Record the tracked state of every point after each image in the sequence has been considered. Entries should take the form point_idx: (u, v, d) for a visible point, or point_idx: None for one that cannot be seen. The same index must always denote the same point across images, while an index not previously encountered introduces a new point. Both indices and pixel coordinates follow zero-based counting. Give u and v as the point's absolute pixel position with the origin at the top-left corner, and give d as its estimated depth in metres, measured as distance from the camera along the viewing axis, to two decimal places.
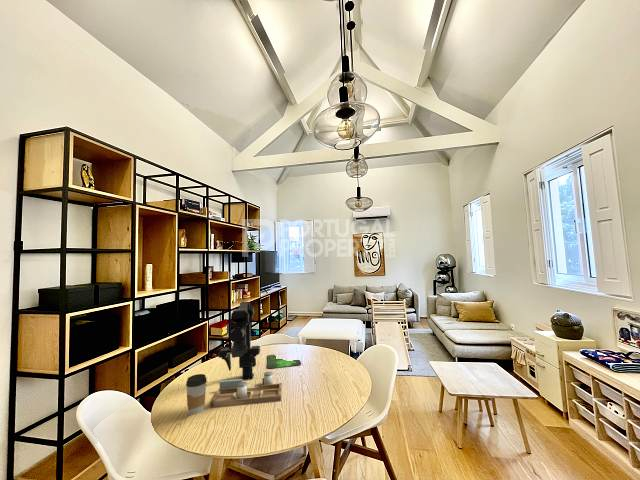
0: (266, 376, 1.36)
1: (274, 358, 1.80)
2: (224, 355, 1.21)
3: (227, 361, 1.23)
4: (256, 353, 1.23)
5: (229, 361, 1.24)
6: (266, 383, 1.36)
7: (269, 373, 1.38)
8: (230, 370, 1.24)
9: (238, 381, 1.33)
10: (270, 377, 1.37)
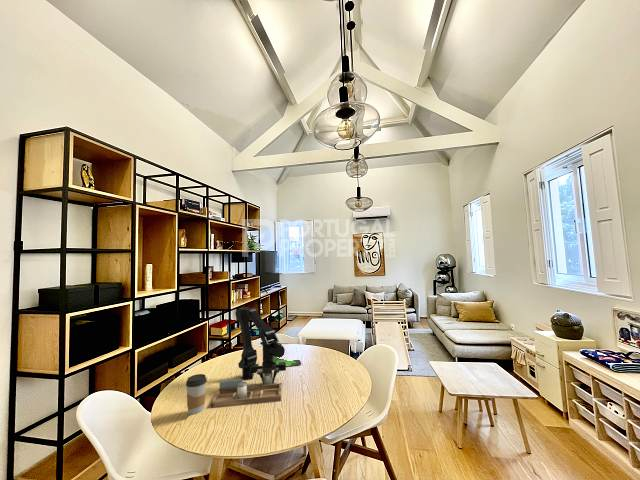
0: (266, 376, 1.36)
1: (274, 358, 1.80)
2: (255, 371, 1.35)
3: (261, 376, 1.37)
4: (283, 369, 1.37)
5: (263, 376, 1.38)
6: (266, 383, 1.36)
7: (269, 373, 1.38)
8: None
9: (238, 381, 1.33)
10: (270, 377, 1.37)
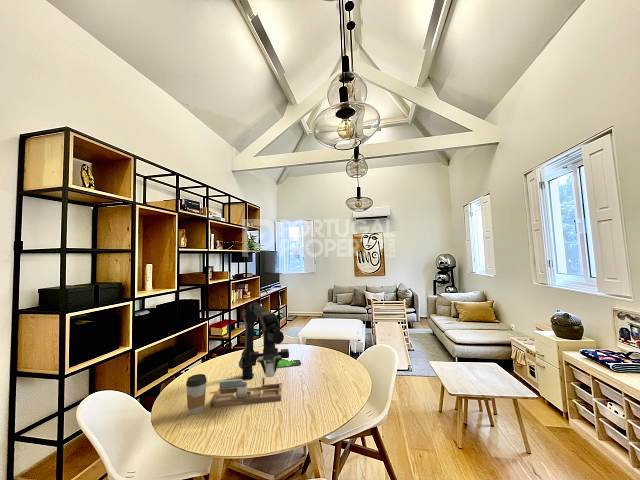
0: (267, 364, 1.25)
1: (274, 358, 1.80)
2: (255, 358, 1.24)
3: (262, 364, 1.25)
4: (286, 356, 1.26)
5: (264, 364, 1.26)
6: (267, 372, 1.25)
7: (270, 361, 1.27)
8: None
9: (238, 381, 1.33)
10: (272, 365, 1.25)
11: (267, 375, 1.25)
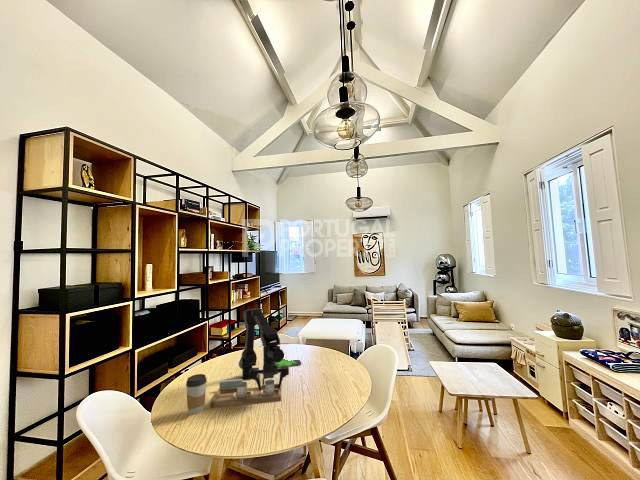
0: (267, 384, 1.24)
1: None
2: (255, 376, 1.22)
3: (258, 381, 1.24)
4: (286, 373, 1.24)
5: (259, 381, 1.25)
6: (267, 392, 1.23)
7: (270, 381, 1.26)
8: (260, 390, 1.25)
9: (238, 381, 1.33)
10: (271, 386, 1.24)
11: (267, 395, 1.23)
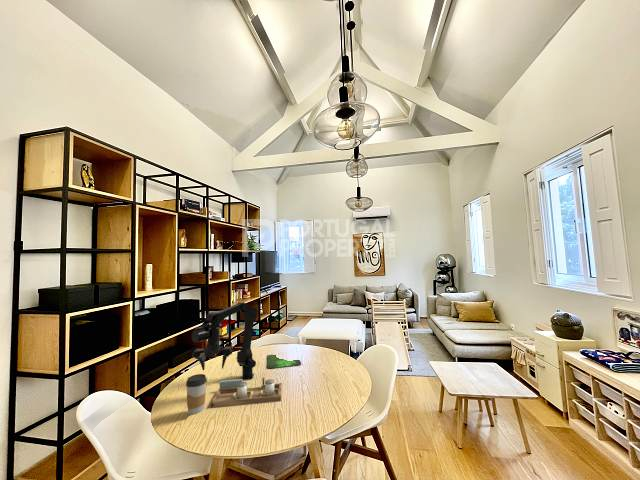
0: (267, 384, 1.24)
1: (274, 358, 1.80)
2: (198, 355, 1.29)
3: (201, 361, 1.31)
4: (228, 353, 1.31)
5: (203, 361, 1.32)
6: (267, 392, 1.23)
7: (270, 381, 1.26)
8: None
9: (238, 381, 1.33)
10: (272, 385, 1.24)
11: (267, 395, 1.23)
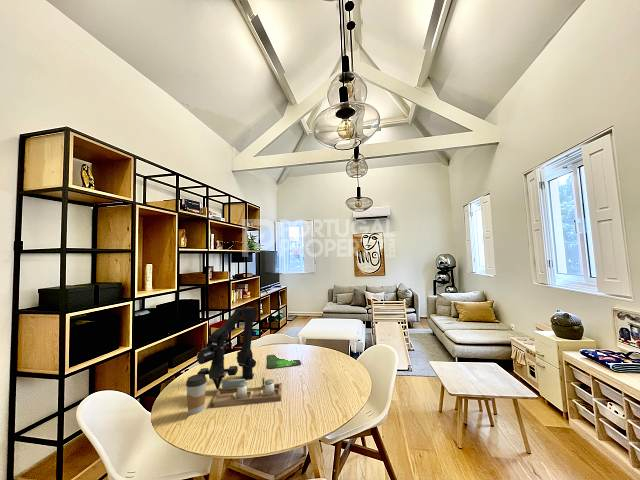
0: (267, 385, 1.24)
1: (274, 358, 1.80)
2: None
3: (214, 380, 1.31)
4: (233, 373, 1.31)
5: (216, 380, 1.32)
6: (267, 392, 1.23)
7: (270, 381, 1.26)
8: None
9: (240, 381, 1.33)
10: (271, 385, 1.24)
11: (267, 395, 1.23)
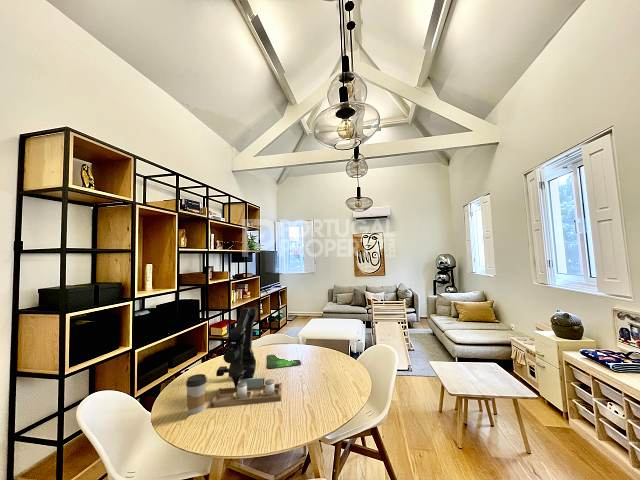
0: (268, 385, 1.24)
1: (274, 358, 1.80)
2: (221, 374, 1.30)
3: (233, 379, 1.32)
4: (251, 372, 1.32)
5: None
6: (268, 392, 1.23)
7: (270, 381, 1.25)
8: None
9: (258, 379, 1.34)
10: (272, 385, 1.24)
11: (268, 395, 1.23)
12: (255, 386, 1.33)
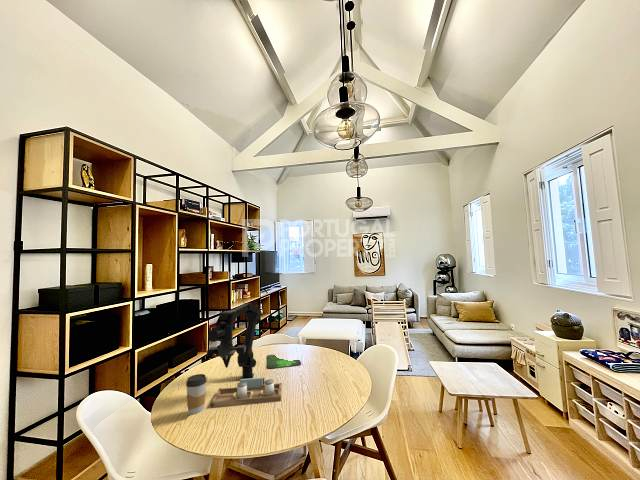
0: (268, 385, 1.24)
1: (274, 358, 1.80)
2: (212, 353, 1.31)
3: (223, 358, 1.33)
4: (241, 352, 1.33)
5: (225, 358, 1.34)
6: (268, 392, 1.23)
7: (270, 381, 1.26)
8: (226, 367, 1.34)
9: (258, 379, 1.34)
10: (272, 385, 1.24)
11: (268, 395, 1.23)
12: (255, 386, 1.33)
